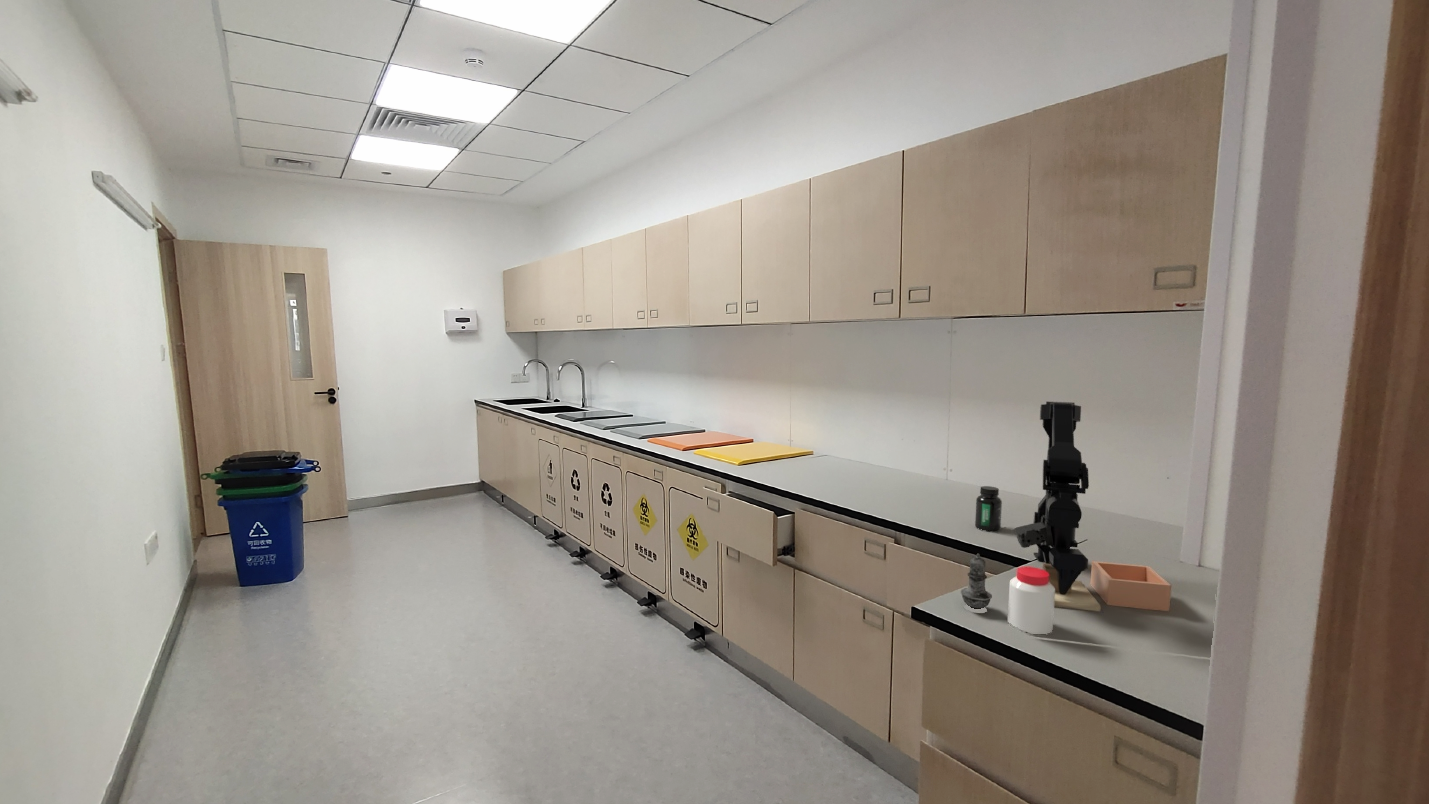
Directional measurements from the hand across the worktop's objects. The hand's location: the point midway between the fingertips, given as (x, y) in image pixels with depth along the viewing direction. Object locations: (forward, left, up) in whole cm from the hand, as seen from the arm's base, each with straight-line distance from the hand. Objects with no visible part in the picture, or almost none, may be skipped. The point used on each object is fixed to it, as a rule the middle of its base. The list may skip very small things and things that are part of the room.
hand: (1056, 585), depth 132 cm
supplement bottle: (-48, -6, -3) cm, 49 cm away
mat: (0, 0, -2) cm, 2 cm away
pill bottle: (+17, -8, -3) cm, 19 cm away
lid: (0, 0, -2) cm, 2 cm away
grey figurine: (+12, -17, -3) cm, 21 cm away
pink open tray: (-3, +15, -3) cm, 15 cm away
